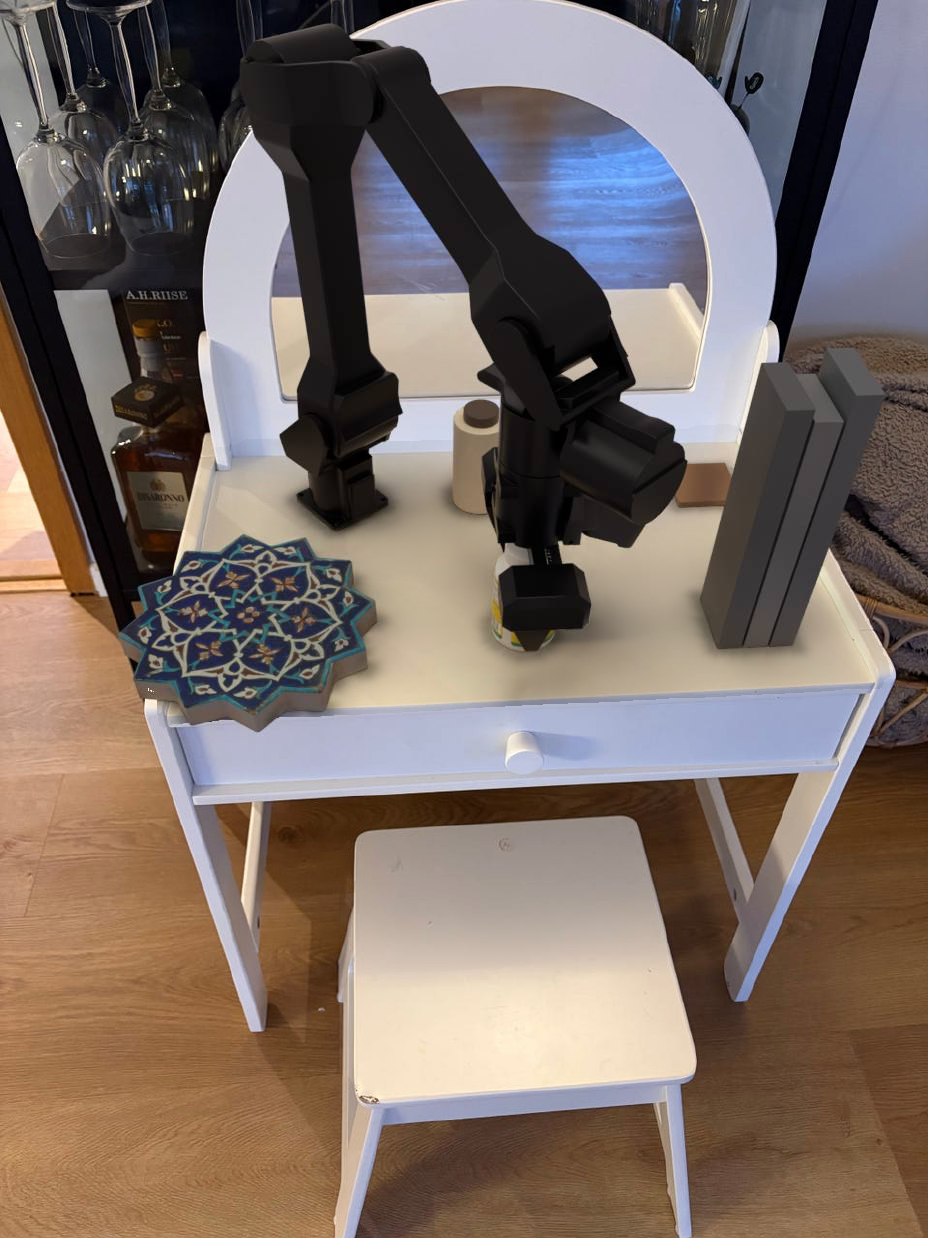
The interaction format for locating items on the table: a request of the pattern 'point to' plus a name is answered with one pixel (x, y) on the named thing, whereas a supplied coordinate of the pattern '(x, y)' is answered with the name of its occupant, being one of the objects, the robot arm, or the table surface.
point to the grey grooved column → (787, 496)
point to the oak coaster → (704, 485)
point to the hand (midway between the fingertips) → (525, 611)
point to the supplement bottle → (509, 558)
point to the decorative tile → (249, 632)
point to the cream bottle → (472, 451)
